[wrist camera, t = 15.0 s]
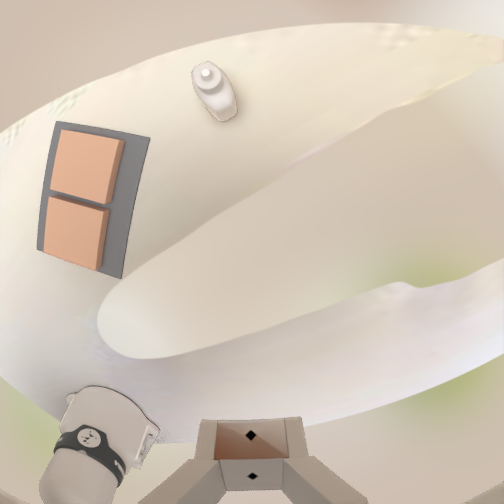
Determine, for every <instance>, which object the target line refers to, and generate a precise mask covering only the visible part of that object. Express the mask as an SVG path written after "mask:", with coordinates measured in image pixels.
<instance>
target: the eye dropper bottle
mask: <svg viewBox="0 0 504 504" xmlns="http://www.w3.org/2000/svg"><path fill="white" fill-rule="evenodd" d="M192 83H193V86H194V89H195V92H196V94H197V95H198V97H199V98H200V100H201V101H202V102H203V104H204V105H205V106H206V108H207V109H208V110H209V111H210V113H211V114H212V115H213V116H214V117H215V118H217V119H218V120H219V121H222V122H223V121H226V120H228V119H230V118H232V117H234V116H235V115H236V114H237V106H236V101H235V97H234V93H233V89H232V86H231V83H230V81H229V79H228V77H227V76H226V74H225V73H224V72H223V71H222V70H221V69H220V68H219V67H218V66H217V65H215V64H214V63H212V62H209V61H207V62H204V63H201V64H199V65H198V66H196V67H194V68H193V70H192Z"/></svg>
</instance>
